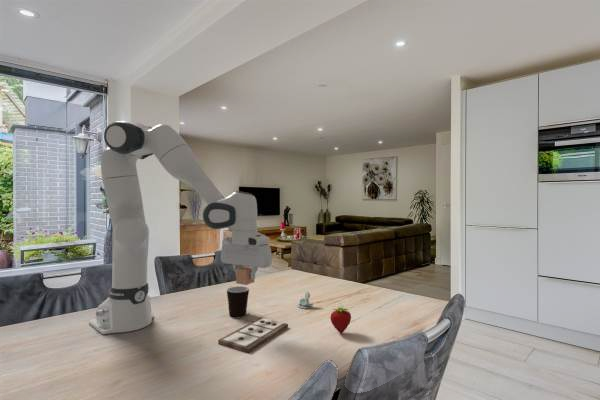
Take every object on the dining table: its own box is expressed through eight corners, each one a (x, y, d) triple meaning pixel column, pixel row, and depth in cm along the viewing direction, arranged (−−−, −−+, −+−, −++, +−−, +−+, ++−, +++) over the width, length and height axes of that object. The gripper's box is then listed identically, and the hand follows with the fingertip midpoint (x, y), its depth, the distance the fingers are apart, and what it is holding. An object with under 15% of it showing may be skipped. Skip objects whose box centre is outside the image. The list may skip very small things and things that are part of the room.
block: (236, 283, 108) (236, 268, 108) (244, 280, 112) (244, 266, 112) (246, 285, 106) (246, 270, 106) (254, 281, 109) (254, 267, 109)
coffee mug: (243, 319, 118) (244, 293, 118) (222, 317, 120) (222, 291, 120) (254, 309, 130) (254, 285, 130) (234, 307, 131) (235, 283, 131)
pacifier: (302, 311, 129) (315, 308, 132) (302, 295, 129) (315, 293, 132) (294, 305, 135) (306, 303, 138) (294, 291, 135) (306, 289, 138)
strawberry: (326, 331, 108) (326, 302, 108) (344, 328, 111) (345, 299, 111) (336, 338, 102) (336, 307, 102) (354, 334, 106) (355, 304, 106)
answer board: (218, 343, 98) (218, 338, 98) (260, 320, 117) (260, 316, 117) (248, 353, 92) (248, 347, 92) (287, 327, 111) (287, 322, 111)
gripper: (216, 237, 111) (216, 276, 111) (262, 240, 101) (263, 283, 101) (228, 235, 117) (229, 272, 117) (274, 238, 106) (274, 279, 106)
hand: (245, 278), depth 109 cm, fingers closed on block, 4 cm apart
